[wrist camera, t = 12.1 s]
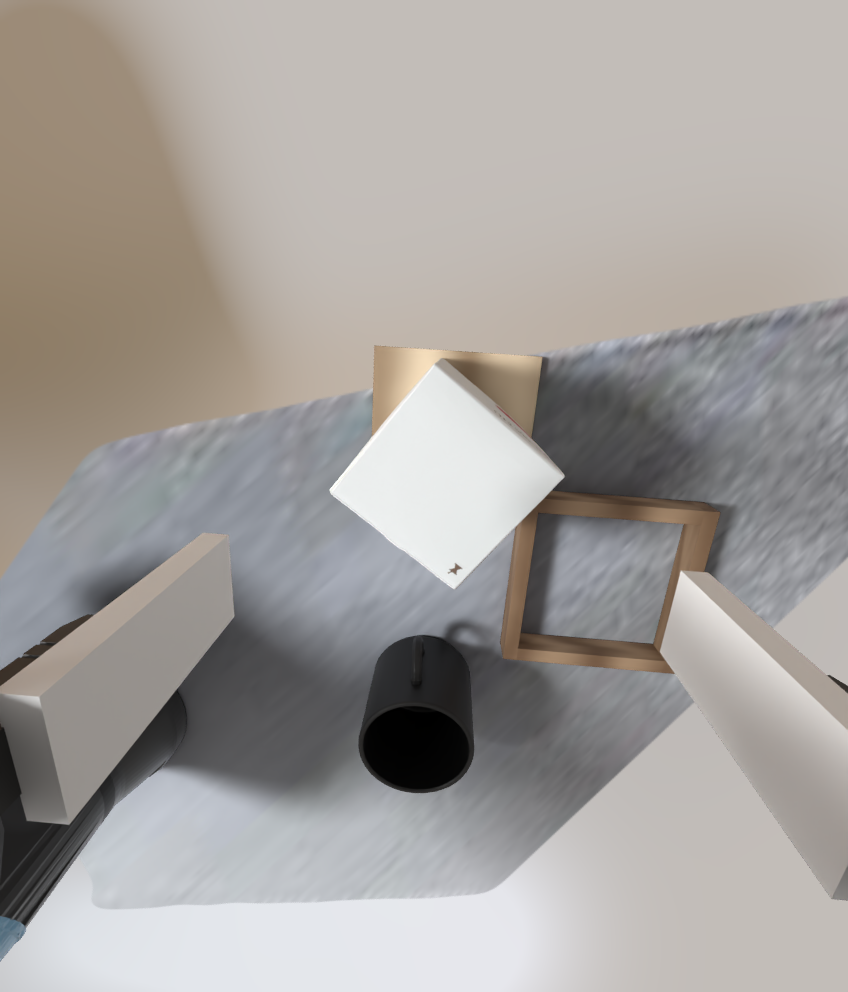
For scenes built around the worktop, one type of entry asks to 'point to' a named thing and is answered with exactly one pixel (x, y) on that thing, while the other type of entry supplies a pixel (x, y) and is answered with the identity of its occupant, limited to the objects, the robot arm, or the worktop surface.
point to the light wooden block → (493, 374)
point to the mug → (418, 717)
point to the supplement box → (447, 475)
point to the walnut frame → (593, 651)
